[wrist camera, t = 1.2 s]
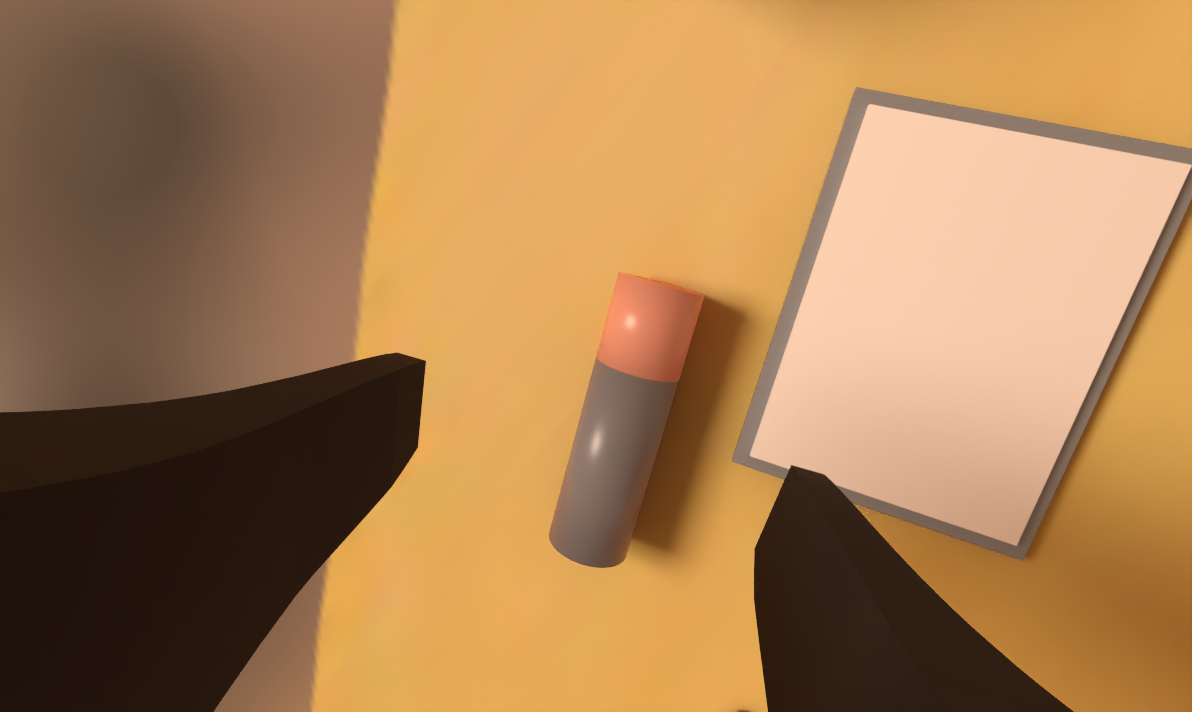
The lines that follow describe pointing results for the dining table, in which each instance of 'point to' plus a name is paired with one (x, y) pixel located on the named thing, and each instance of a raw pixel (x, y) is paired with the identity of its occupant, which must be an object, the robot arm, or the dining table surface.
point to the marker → (623, 418)
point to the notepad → (961, 311)
